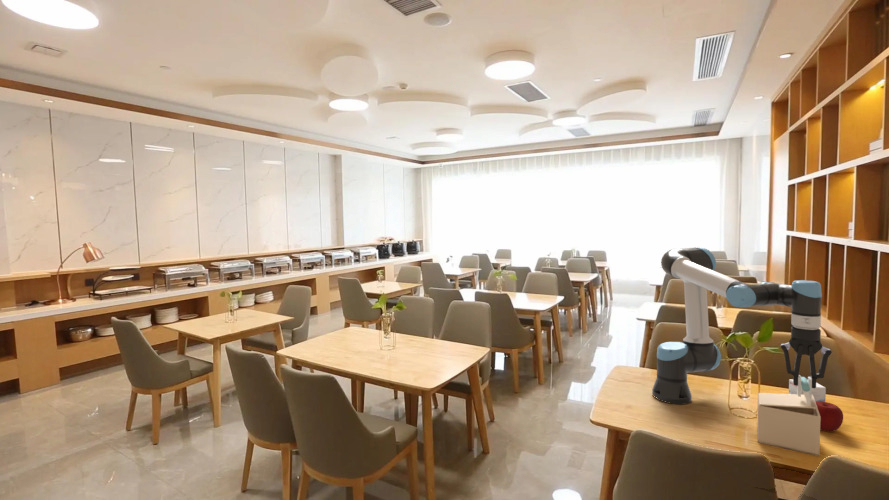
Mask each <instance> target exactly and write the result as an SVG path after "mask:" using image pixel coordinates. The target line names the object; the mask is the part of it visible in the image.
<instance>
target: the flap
mask: <svg viewBox="0 0 889 500" xmlns="http://www.w3.org/2000/svg"><path fill="white" fill-rule="evenodd" d="M807 380H808V378H806V377H805V376H801V386H802V389H803V391H804V395H801V397H800V396H798V395H797V394H789V393H775V392H774V393H773V392H772V393H771V392H758V394H759V405H764V406H781V407H799V408H816V409H817V405H816V402H815V400H814V397H813V395H812V398H809V392H808V391H810V387H809V384H808V381H807Z"/></svg>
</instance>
